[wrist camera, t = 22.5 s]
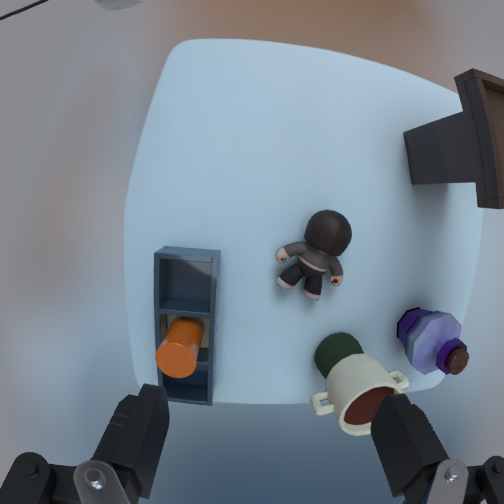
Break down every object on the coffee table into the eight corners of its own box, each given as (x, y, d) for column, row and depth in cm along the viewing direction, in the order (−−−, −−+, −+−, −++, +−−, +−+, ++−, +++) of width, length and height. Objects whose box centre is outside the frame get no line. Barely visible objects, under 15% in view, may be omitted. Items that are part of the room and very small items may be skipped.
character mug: (298, 381, 36) (320, 448, 24) (292, 337, 35) (317, 401, 22) (372, 362, 37) (414, 416, 24) (372, 318, 35) (423, 366, 23)
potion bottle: (439, 329, 36) (487, 363, 25) (396, 362, 37) (437, 407, 25) (426, 285, 35) (482, 313, 23) (378, 320, 35) (425, 362, 24)
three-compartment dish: (166, 381, 36) (159, 399, 31) (164, 246, 33) (154, 252, 28) (214, 386, 36) (212, 406, 32) (220, 250, 33) (218, 257, 29)
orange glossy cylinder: (168, 334, 33) (150, 368, 25) (177, 306, 33) (161, 336, 25) (198, 346, 34) (188, 383, 26) (209, 319, 33) (202, 353, 25)
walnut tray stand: (391, 202, 33) (499, 209, 15) (378, 116, 31) (472, 67, 13) (465, 195, 33) (561, 201, 15) (454, 122, 31) (545, 98, 13)
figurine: (324, 293, 36) (363, 223, 33) (332, 314, 31) (378, 235, 28) (264, 268, 35) (300, 192, 32) (264, 287, 30) (307, 200, 27)
